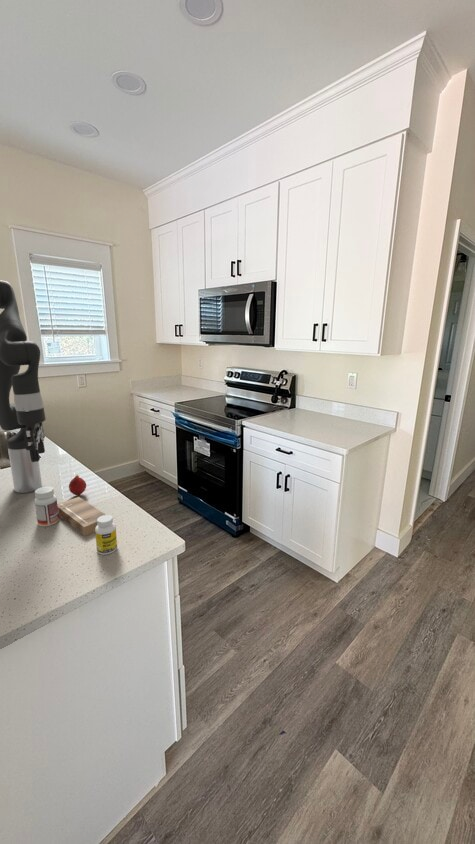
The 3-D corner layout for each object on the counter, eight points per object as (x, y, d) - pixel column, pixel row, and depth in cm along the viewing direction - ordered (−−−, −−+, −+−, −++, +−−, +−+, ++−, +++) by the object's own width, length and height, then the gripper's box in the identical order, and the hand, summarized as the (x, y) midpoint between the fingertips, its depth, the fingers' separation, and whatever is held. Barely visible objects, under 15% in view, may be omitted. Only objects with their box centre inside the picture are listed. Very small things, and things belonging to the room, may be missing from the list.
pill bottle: (59, 515, 116) (55, 484, 113) (59, 524, 111) (55, 491, 108) (38, 519, 114) (33, 487, 111) (37, 529, 108) (32, 495, 105)
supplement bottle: (102, 558, 95) (99, 526, 93) (93, 549, 99) (90, 518, 96) (121, 549, 99) (118, 518, 97) (111, 541, 103) (109, 511, 100)
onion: (80, 499, 127) (78, 479, 125) (66, 498, 128) (64, 477, 126) (90, 492, 132) (88, 473, 130) (76, 491, 134) (74, 471, 131)
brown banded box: (56, 513, 118) (55, 504, 117) (79, 504, 124) (78, 496, 123) (85, 535, 105) (84, 526, 104) (109, 525, 111) (108, 516, 110)
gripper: (21, 404, 114) (30, 452, 118) (9, 413, 101) (19, 466, 105) (47, 402, 116) (55, 449, 120) (38, 410, 103) (47, 462, 107)
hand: (38, 457), depth 112 cm, fingers open, 8 cm apart
